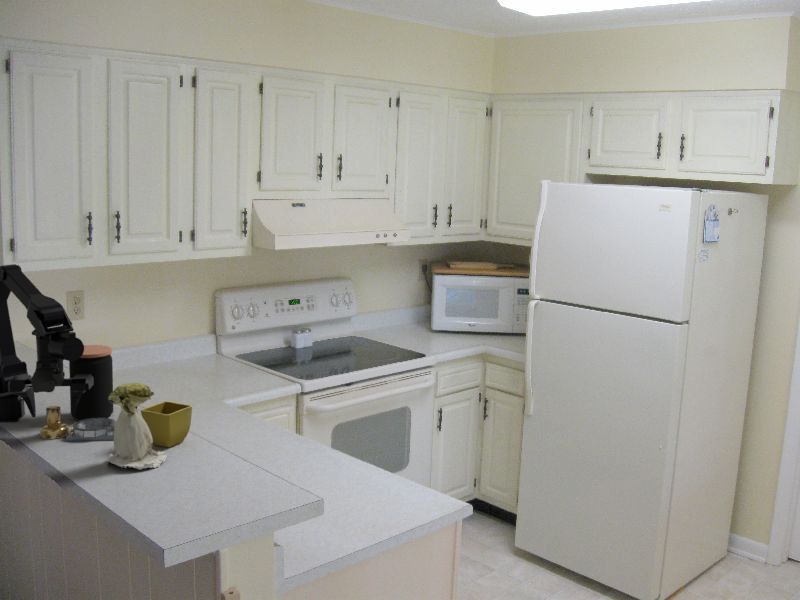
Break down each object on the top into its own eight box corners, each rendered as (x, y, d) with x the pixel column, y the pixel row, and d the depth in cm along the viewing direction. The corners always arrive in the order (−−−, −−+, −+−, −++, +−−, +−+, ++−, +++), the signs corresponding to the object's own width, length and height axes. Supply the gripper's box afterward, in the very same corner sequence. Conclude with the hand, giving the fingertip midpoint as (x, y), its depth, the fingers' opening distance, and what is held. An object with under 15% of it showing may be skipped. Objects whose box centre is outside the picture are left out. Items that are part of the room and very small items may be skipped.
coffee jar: (120, 411, 230) (119, 346, 227) (102, 423, 219) (100, 355, 216) (82, 408, 231) (81, 343, 228) (62, 420, 221) (60, 352, 217)
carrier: (66, 441, 206) (65, 431, 205) (77, 427, 216) (76, 418, 216) (146, 439, 208) (146, 429, 208) (154, 425, 218) (153, 416, 218)
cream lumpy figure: (140, 475, 185) (137, 393, 182) (95, 466, 190) (91, 386, 187) (176, 458, 195) (173, 380, 192) (132, 450, 201) (128, 374, 198)
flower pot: (141, 445, 204) (139, 409, 202) (166, 435, 211) (165, 400, 210) (169, 452, 200) (167, 415, 198) (194, 441, 207) (193, 405, 206)
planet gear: (39, 440, 207) (37, 412, 205) (42, 432, 213) (40, 405, 211) (67, 438, 208) (66, 410, 207) (69, 430, 214) (68, 403, 213)
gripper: (-2, 363, 198) (2, 428, 201) (81, 362, 200) (84, 426, 203) (13, 352, 209) (17, 413, 212) (92, 351, 211) (95, 412, 214)
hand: (53, 416), depth 210 cm, fingers open, 9 cm apart
